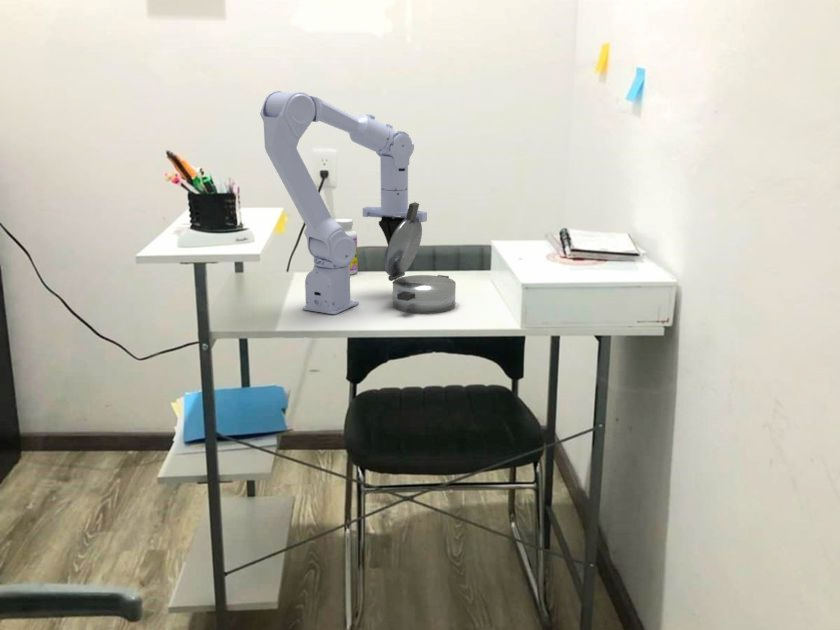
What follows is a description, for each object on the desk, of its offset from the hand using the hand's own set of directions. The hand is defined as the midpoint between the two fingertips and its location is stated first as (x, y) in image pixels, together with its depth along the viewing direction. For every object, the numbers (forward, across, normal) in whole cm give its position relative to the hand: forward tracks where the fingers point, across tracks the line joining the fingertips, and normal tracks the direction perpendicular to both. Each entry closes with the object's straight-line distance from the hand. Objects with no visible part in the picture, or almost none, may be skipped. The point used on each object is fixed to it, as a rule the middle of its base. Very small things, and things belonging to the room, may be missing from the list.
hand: (394, 252), depth 174 cm
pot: (+9, -9, +4) cm, 14 cm away
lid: (-3, -5, +4) cm, 7 cm away
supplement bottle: (+10, +21, -12) cm, 26 cm away
